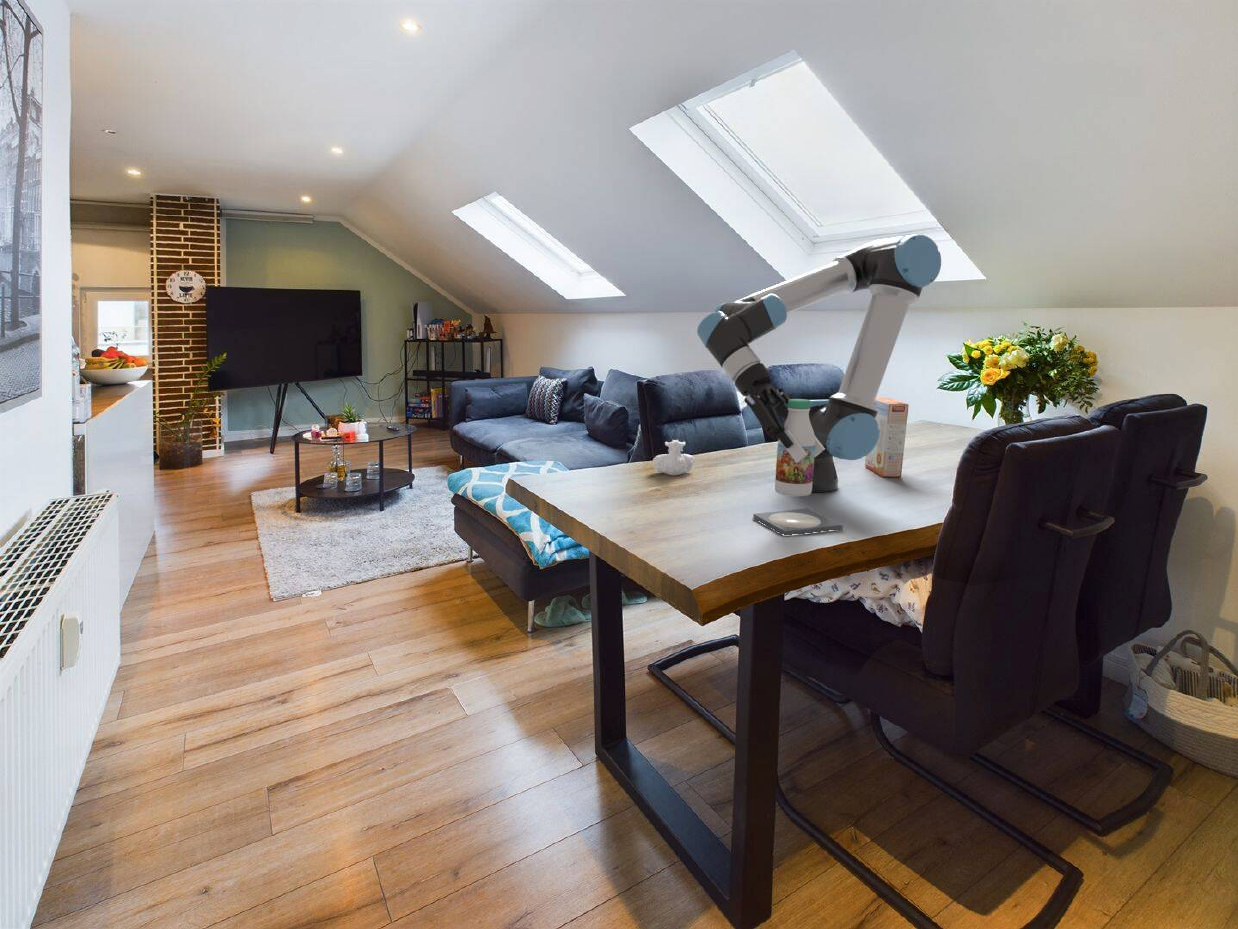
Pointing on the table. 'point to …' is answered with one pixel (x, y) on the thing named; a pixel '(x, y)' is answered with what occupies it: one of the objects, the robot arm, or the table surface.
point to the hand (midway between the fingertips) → (811, 455)
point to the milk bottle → (788, 472)
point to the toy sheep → (673, 460)
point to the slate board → (797, 521)
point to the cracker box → (889, 438)
